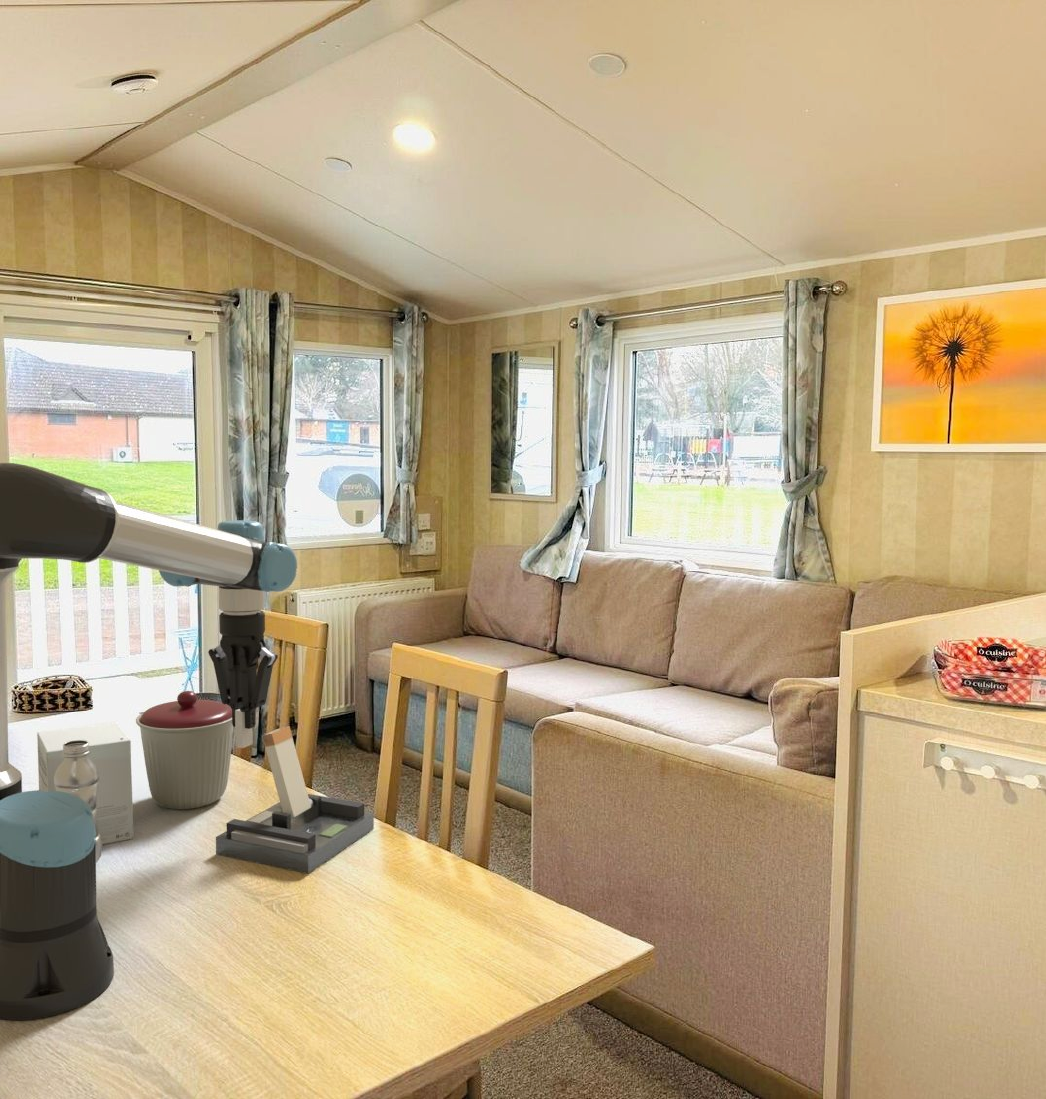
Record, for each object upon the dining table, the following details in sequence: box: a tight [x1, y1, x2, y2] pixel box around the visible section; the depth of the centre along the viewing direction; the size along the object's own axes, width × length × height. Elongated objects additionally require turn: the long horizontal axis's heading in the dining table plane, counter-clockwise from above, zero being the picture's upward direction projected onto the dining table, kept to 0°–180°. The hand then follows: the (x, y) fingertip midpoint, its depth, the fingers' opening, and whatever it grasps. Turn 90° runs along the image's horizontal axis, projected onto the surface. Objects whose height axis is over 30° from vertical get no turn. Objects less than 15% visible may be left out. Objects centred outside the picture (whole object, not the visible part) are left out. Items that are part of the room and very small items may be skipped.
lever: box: [261, 725, 313, 819], centre depth 167 cm, size 7×2×15 cm, turn 158°
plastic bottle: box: [54, 740, 103, 864], centre depth 155 cm, size 6×7×20 cm
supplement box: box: [36, 721, 134, 845], centre depth 168 cm, size 13×13×18 cm
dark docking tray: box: [226, 793, 365, 854], centre depth 166 cm, size 18×16×2 cm
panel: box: [215, 793, 375, 875], centre depth 167 cm, size 20×18×6 cm
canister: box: [135, 690, 234, 810], centre depth 184 cm, size 18×18×21 cm
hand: (244, 745), depth 169 cm, fingers closed
